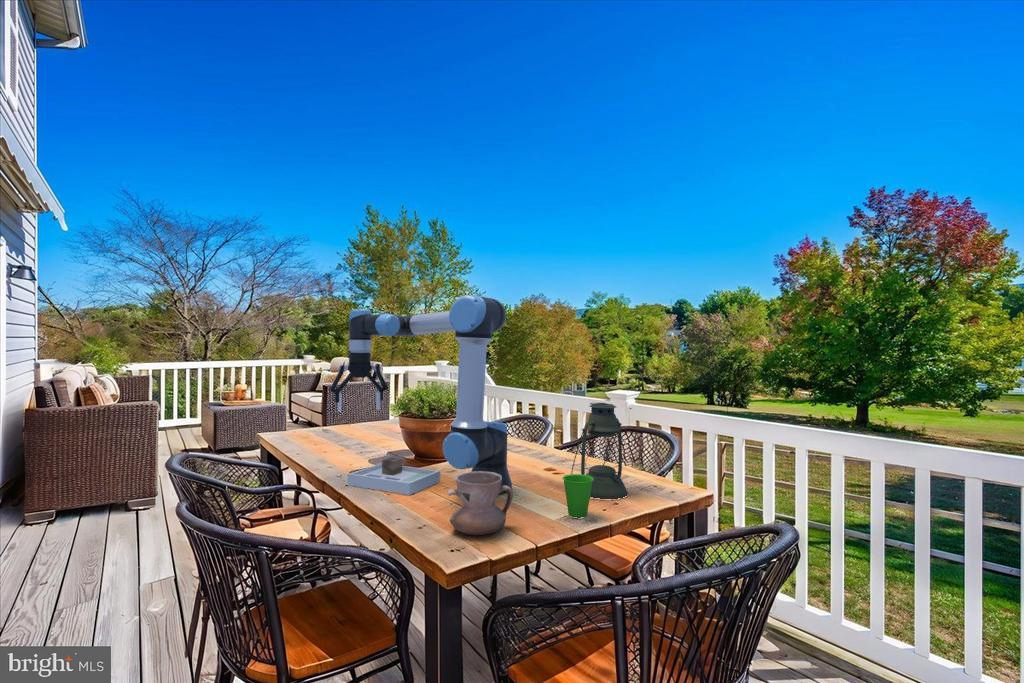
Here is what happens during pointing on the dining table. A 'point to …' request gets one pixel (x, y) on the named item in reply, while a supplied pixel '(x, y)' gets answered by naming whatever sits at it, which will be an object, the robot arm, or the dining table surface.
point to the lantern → (604, 476)
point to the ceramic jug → (479, 503)
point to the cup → (578, 493)
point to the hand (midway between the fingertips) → (359, 410)
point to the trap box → (394, 479)
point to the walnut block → (392, 466)
